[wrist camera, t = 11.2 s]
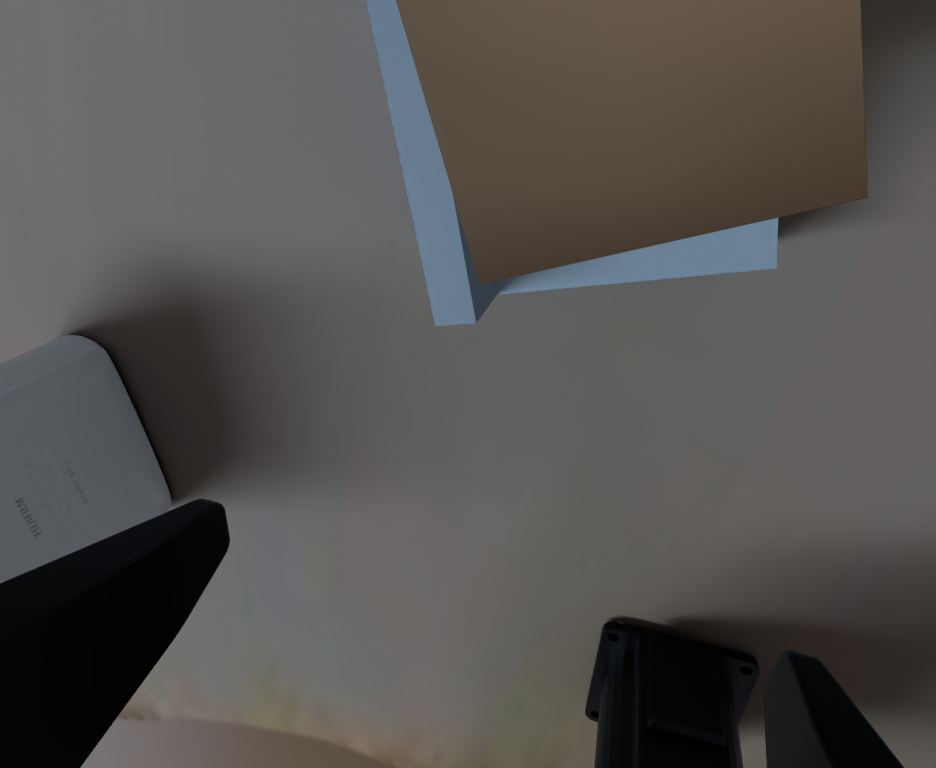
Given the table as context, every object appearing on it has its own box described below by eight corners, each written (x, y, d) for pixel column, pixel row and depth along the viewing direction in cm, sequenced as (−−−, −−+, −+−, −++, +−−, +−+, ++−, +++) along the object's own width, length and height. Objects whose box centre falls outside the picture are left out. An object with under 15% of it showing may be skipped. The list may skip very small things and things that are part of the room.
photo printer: (188, 513, 31) (-52, 737, 20) (124, 508, 32) (-132, 716, 22) (112, 330, 27) (-242, 494, 16) (42, 333, 28) (-329, 486, 17)
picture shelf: (761, 245, 18) (796, 298, 14) (479, 275, 21) (435, 326, 17) (779, -422, 12) (848, -692, 8) (387, -255, 15) (283, -388, 11)
